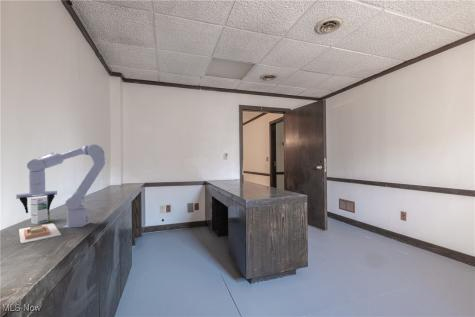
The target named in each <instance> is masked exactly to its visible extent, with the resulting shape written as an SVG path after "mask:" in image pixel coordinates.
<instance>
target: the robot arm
mask: <svg viewBox="0 0 475 317" xmlns="http://www.w3.org/2000/svg"><path fill="white" fill-rule="evenodd" d="M80 155H81V156H82V155H86V156H87V155H89V157H91V160H92V162H93V165H91V168H90V169H89V171H88V172H87V173H86V175H85V176H84V178H83V180H82V181H81V183H80V184H79V186H78V187H77V188H76V191H75V192H74V193H73V194H72V196H71V197H69V198H67V200H65V207H66V225H63V226H62V229H64V228H78V227H79V228H81V227H84V226H86V225H88V224H91V220H90V219H91V215H90V214H91V213H90V209H89V208H88V207H84V205H83V204H84V200H85V197H86V195H87V193H88V191H89V189H91V187H92V186H93V184H94V182H95V181H96V179H97V177H98V176H99V174H100V173H101V172H102V170H103V168H104V167H105V165H106V161H105V160H106V158H105V151H104V149H103V148H102V146H100V145H98V144H90V145H84V146H80V147H78V148H74V149H72V150H70V151H67V152H63V153H58V152H55V153H54V152H51V153H49V154H48V155H45V156H39V157H38V158H37V159H36V158H33V159H31V160H29V161H28V162H27V165H26V167H27V169H28V170H29V174H28V180H29V181H28V182H29V183H28V184H29V185H28V186H29V190H28V191H29V192H28V193H27V192H25V193H19V194H18V193H17V194H15V197H16V200H19V201H20V202H21V204H22V205H23V208H24V210H25V214H29V207H28V198H32V197H39V196H47V210H49V211H50V207H51V204H52V203H53V200H54V198H55V196H58V190H50V191H49V190H47V191H46V172H45V170H46V169H48V168H51V167H52V168H53V167H54V166H58V165H60V164H63V163H64V161H65V160H67V159H71V158H74V157H75V158H76V157H77V156H80Z"/></svg>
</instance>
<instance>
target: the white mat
mask: <svg viewBox="0 0 475 317" xmlns="http://www.w3.org/2000/svg"><path fill="white" fill-rule="evenodd" d="M42 226H47V227H48V229H49V231H50V235H45V236H40V237H35V238H31V239H26V240H25V236H24V230H26V229H30V226H29V227H23V228H19V229H18V232H19V240H20V245H24V244H27V243H32V242H37V241H41V240H47V239H50V238H55V237H60V236H62V233H61V232H60V230H59V229H58V228H57V227H56V224H54V223H53V222H51V223H45V224H42ZM43 232H45V230H43ZM28 235H31V234H30V233H28Z"/></svg>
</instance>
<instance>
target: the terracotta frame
mask: <svg viewBox="0 0 475 317" xmlns="http://www.w3.org/2000/svg"><path fill="white" fill-rule="evenodd" d="M43 230H45V232H41V233H36V234H31V235H28V233H30V229H26V230H24V236H25V240H26V239H31V238H35V237H40V236H45V235H50V231H49V229H48V227H47V226H43Z"/></svg>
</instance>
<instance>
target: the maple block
mask: <svg viewBox="0 0 475 317" xmlns="http://www.w3.org/2000/svg"><path fill="white" fill-rule="evenodd" d="M42 225H43V223H40V224H35V225H31V226H29V227H30V234H36V233H41V232H43V226H42Z"/></svg>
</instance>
